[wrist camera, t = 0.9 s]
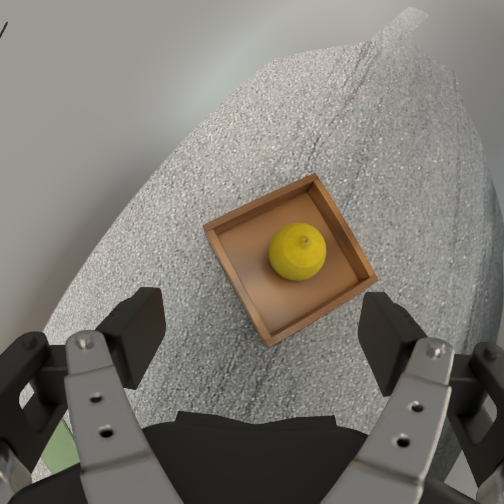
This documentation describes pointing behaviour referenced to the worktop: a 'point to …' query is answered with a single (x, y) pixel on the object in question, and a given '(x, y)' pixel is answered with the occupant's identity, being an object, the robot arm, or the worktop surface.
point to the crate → (263, 274)
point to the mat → (60, 450)
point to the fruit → (297, 251)
